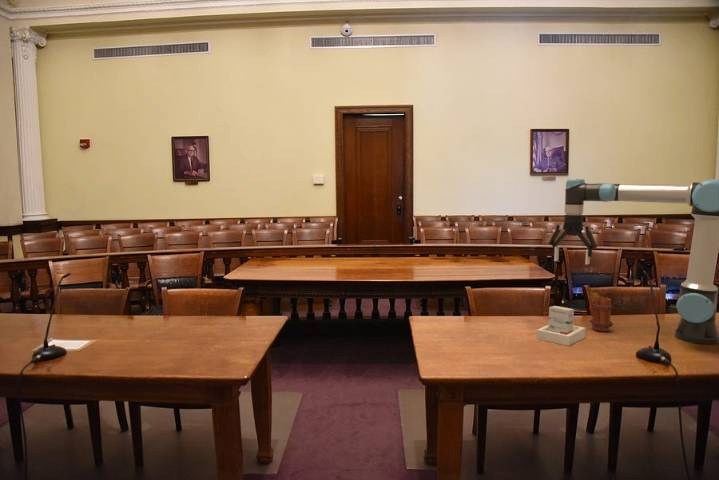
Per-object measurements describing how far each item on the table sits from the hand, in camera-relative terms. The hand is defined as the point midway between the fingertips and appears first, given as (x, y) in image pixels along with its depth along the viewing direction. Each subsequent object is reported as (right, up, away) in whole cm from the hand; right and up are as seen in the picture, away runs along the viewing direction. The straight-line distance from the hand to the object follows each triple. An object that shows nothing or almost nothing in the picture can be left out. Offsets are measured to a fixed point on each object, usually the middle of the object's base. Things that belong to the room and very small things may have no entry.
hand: (571, 262), depth 219 cm
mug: (+11, -29, -1) cm, 31 cm away
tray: (-11, -30, -15) cm, 35 cm away
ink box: (-11, -30, -14) cm, 35 cm away
